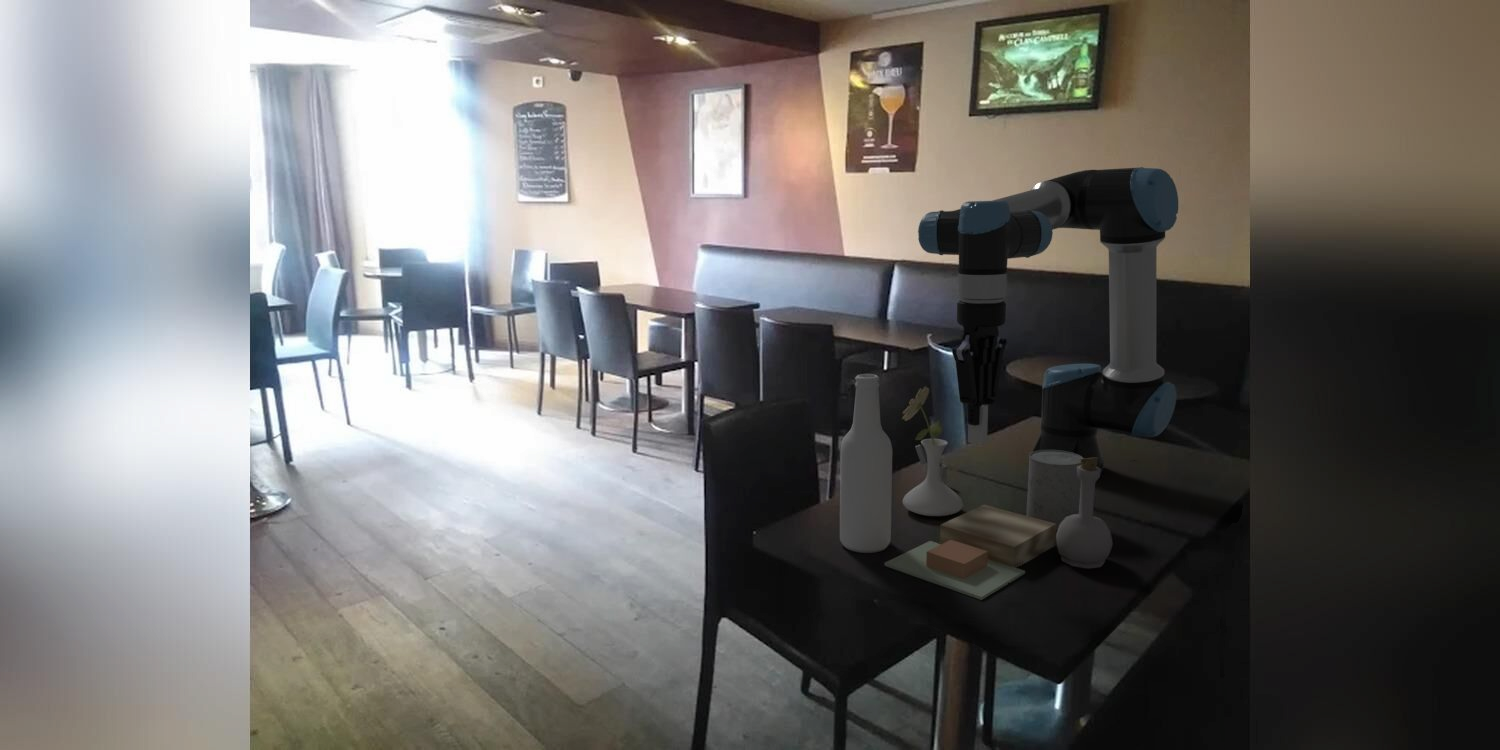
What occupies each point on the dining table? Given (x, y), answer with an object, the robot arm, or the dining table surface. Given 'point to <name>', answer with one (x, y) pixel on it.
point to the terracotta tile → (957, 559)
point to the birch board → (1001, 534)
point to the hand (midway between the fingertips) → (977, 442)
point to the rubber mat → (972, 585)
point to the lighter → (923, 460)
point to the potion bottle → (1085, 525)
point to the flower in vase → (930, 470)
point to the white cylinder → (1053, 485)
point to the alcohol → (866, 474)
